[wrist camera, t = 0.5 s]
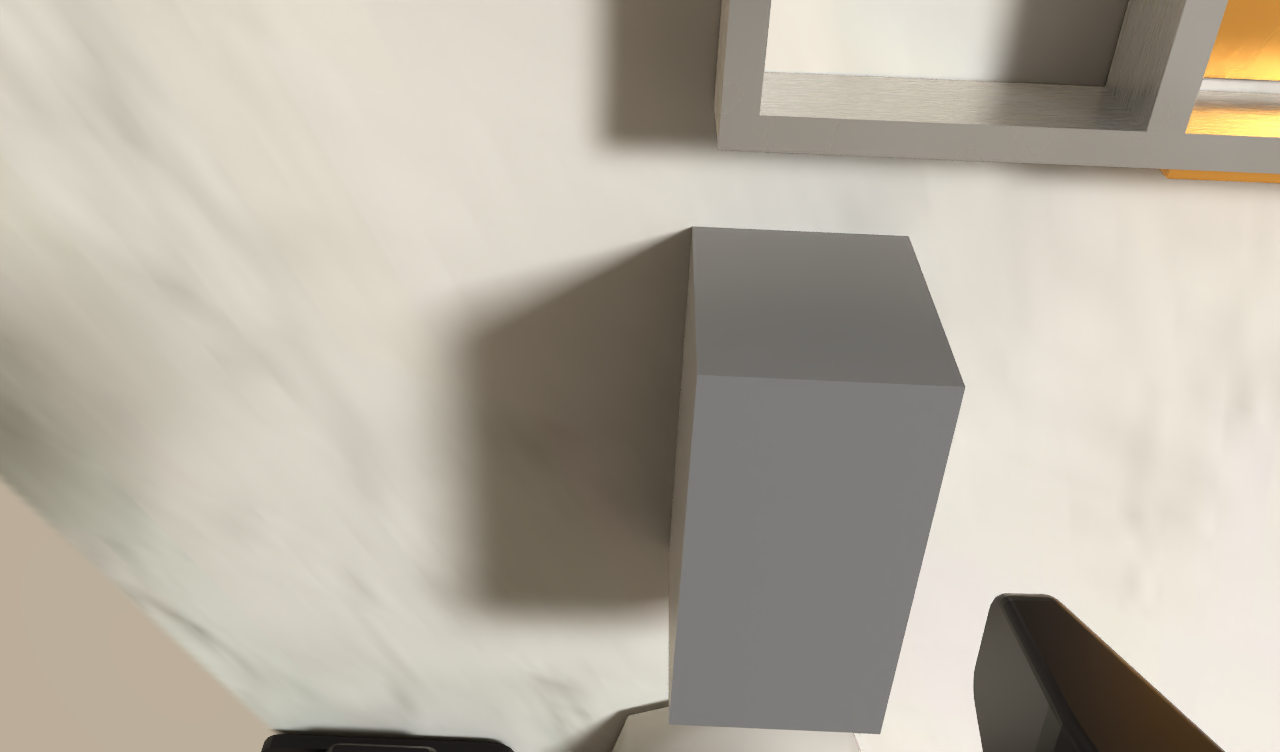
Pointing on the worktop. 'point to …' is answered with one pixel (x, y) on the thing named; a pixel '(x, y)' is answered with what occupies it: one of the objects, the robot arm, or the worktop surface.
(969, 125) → the tray
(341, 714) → the worktop surface
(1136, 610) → the worktop surface
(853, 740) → the flask
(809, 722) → the grey rectangular cuboid
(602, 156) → the worktop surface
